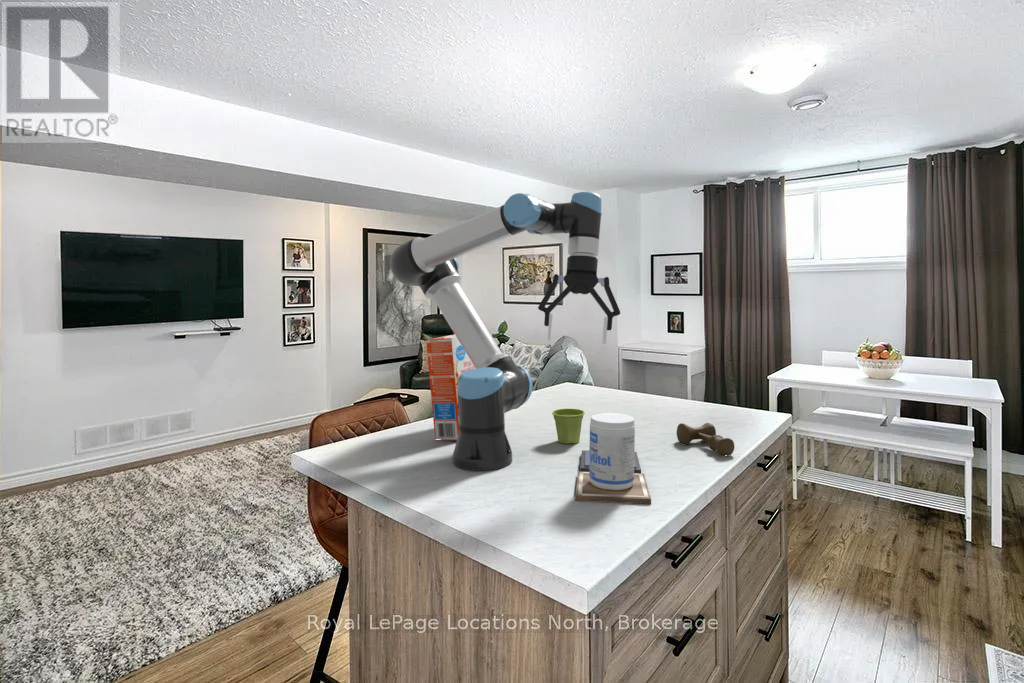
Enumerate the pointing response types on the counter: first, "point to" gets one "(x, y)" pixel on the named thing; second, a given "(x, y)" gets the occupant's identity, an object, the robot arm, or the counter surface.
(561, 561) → the counter surface
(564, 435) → the plant pot
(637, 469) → the ink pad
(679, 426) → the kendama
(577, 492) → the board
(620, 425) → the supplement tub
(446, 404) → the orange cereal box
